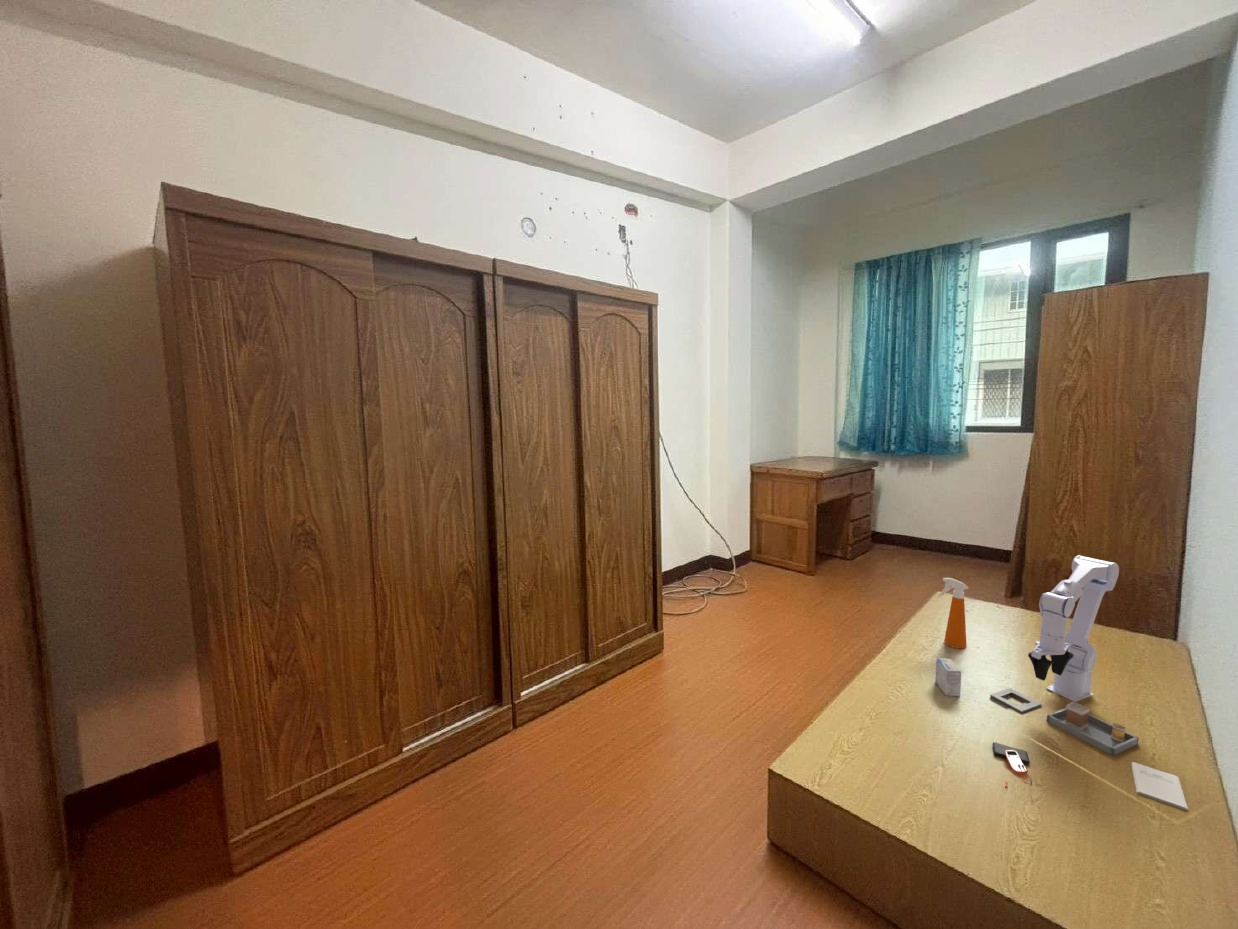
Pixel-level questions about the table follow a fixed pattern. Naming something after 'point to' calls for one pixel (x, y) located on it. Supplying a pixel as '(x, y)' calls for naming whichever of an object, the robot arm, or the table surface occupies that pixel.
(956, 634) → the spray bottle
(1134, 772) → the external hard drive
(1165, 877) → the table surface
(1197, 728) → the table surface
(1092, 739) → the parts tray
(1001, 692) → the grey square frame
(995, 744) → the multimeter
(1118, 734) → the cylinder
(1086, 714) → the block
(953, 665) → the medicine box
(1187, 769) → the table surface
